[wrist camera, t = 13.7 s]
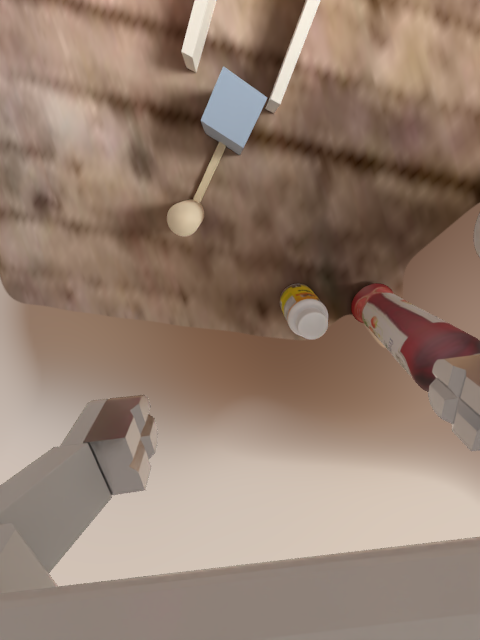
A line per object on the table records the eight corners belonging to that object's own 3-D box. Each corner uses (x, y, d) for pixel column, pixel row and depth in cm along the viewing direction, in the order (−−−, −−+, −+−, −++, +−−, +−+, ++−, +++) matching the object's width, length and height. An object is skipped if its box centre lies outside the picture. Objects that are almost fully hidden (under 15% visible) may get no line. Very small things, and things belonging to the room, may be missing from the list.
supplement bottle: (319, 293, 47) (343, 319, 38) (299, 320, 49) (317, 351, 39) (291, 275, 45) (309, 298, 36) (271, 304, 47) (283, 333, 38)
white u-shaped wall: (229, -92, 29) (230, -138, 25) (328, -28, 32) (343, -60, 27) (186, 67, 34) (181, 51, 30) (274, 113, 37) (280, 104, 32)
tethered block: (223, 91, 35) (223, 62, 27) (259, 115, 37) (269, 95, 28) (169, 216, 41) (155, 223, 33) (202, 233, 42) (196, 245, 34)
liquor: (339, 297, 47) (472, 426, 22) (380, 270, 46) (575, 376, 20) (358, 329, 50) (498, 478, 25) (398, 305, 48) (591, 437, 23)
